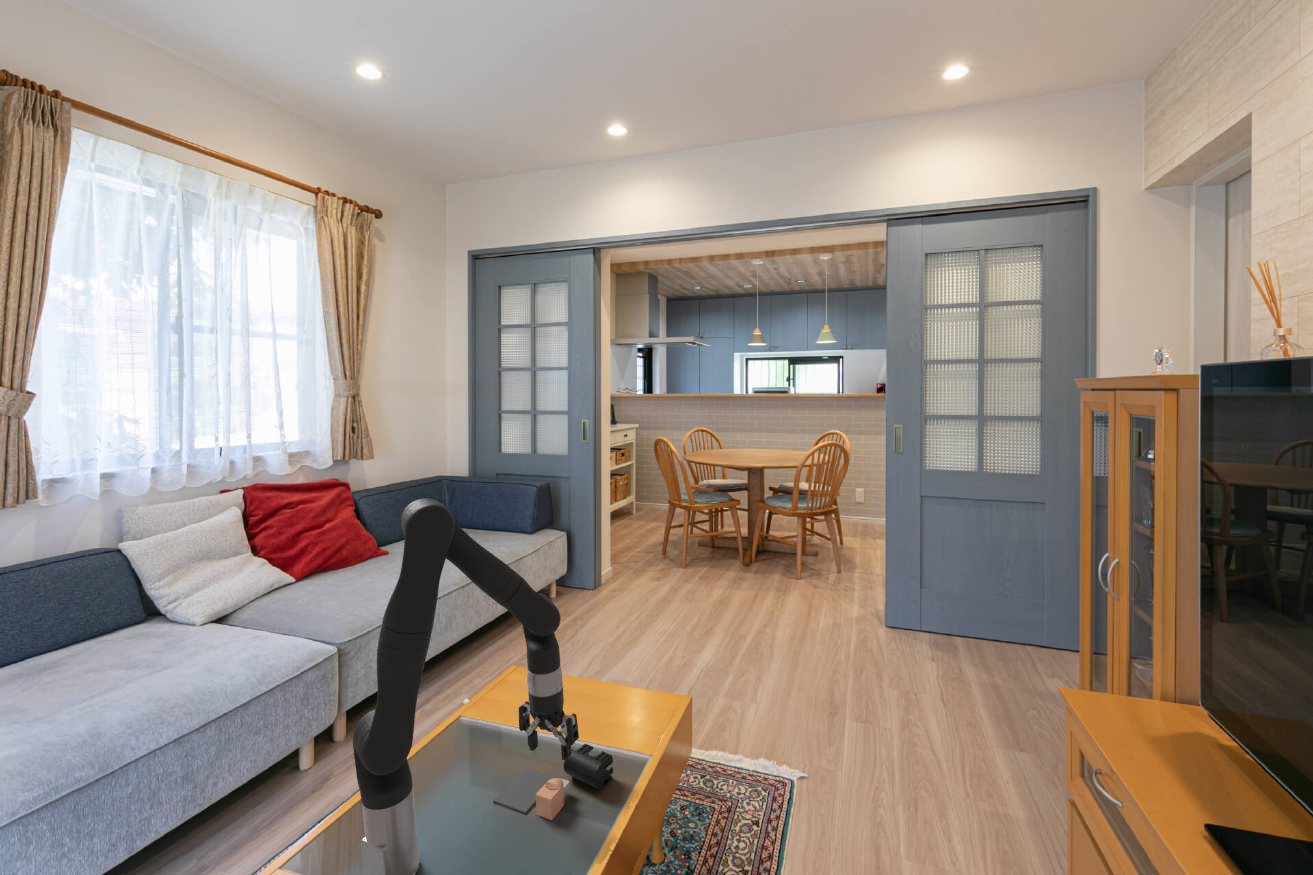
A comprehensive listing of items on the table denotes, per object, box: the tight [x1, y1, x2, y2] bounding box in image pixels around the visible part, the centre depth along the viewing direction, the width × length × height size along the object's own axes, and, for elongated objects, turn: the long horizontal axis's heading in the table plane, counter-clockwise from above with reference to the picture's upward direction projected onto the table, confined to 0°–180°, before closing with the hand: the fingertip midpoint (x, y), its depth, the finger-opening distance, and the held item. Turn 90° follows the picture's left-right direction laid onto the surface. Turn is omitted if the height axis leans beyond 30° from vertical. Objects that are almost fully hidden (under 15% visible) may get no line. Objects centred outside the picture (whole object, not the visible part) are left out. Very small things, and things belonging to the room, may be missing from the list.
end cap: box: [563, 743, 614, 791], centre depth 147 cm, size 10×7×7 cm
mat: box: [492, 767, 556, 815], centre depth 145 cm, size 12×9×1 cm
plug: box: [535, 777, 571, 821], centre depth 140 cm, size 9×4×5 cm, turn 155°
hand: (549, 753), depth 138 cm, fingers open, 8 cm apart
